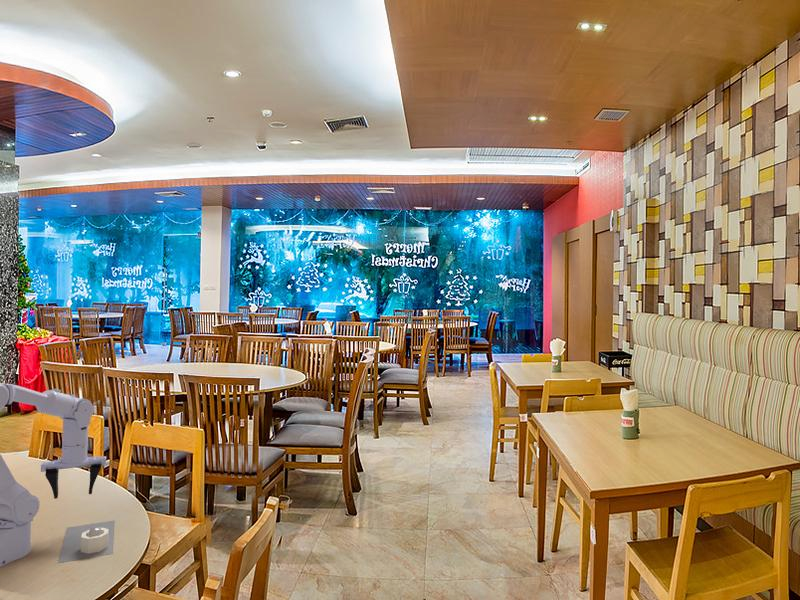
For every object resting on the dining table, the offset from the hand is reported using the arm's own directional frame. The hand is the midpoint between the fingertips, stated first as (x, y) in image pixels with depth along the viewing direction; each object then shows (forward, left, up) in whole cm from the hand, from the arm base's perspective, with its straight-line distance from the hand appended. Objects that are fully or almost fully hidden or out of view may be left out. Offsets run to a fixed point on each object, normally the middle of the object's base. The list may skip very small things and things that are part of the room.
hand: (73, 495), depth 137 cm
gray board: (-5, -10, -9) cm, 15 cm away
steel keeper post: (-8, -14, -8) cm, 18 cm away
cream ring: (-8, -14, -8) cm, 18 cm away
